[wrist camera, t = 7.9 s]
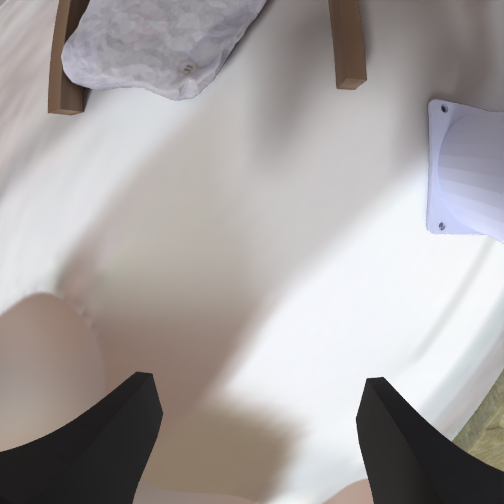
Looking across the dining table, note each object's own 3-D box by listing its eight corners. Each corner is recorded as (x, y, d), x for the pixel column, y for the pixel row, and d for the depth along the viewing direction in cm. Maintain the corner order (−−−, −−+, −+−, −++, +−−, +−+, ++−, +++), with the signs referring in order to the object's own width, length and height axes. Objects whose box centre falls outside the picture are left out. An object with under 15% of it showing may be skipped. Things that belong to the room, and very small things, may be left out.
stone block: (280, -31, 14) (141, -57, 12) (297, -64, 10) (127, -91, 7) (220, 119, 18) (77, 87, 16) (222, 117, 14) (41, 81, 11)
